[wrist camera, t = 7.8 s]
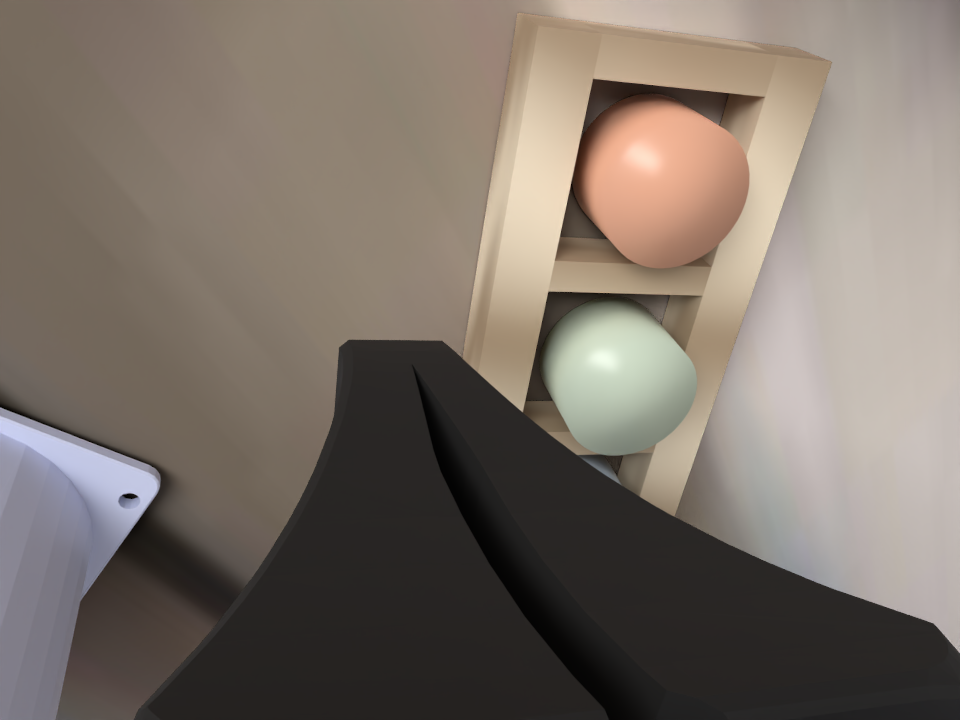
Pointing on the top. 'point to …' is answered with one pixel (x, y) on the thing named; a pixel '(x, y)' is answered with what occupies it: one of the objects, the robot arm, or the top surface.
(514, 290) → the button panel
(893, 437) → the top surface
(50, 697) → the robot arm
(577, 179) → the terracotta button
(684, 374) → the sage button
